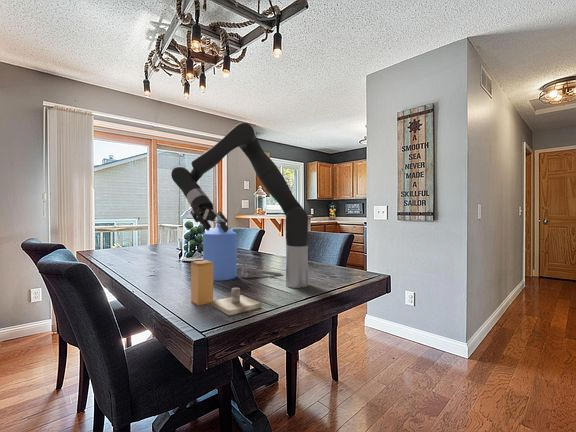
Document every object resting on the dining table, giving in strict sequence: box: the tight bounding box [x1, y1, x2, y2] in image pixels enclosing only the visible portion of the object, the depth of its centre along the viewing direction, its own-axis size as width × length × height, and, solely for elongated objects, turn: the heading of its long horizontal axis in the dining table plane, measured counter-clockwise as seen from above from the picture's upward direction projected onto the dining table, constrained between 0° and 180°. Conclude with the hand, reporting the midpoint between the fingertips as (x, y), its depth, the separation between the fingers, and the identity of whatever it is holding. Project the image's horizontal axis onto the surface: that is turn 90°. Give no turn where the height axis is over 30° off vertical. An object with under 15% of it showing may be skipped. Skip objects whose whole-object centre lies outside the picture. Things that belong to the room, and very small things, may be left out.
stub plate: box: [210, 287, 262, 316], centre depth 103 cm, size 12×12×6 cm
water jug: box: [202, 221, 238, 282], centre depth 144 cm, size 16×16×28 cm
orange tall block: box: [190, 259, 214, 306], centre depth 108 cm, size 6×6×14 cm
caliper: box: [240, 264, 284, 278], centre depth 148 cm, size 20×1×6 cm, turn 106°
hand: (218, 229), depth 114 cm, fingers open, 8 cm apart
